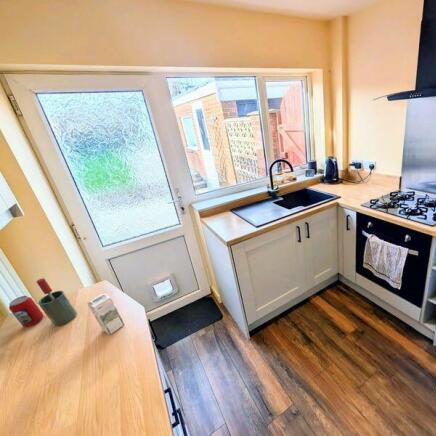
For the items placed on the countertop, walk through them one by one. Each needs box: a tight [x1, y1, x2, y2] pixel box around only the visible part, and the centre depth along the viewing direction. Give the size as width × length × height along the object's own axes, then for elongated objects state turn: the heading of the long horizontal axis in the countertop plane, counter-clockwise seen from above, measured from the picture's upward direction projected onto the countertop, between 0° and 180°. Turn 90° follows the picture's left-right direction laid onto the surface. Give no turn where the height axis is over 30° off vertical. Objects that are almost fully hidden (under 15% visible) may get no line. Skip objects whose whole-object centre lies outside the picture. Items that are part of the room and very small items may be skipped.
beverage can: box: [8, 295, 45, 328], centre depth 102 cm, size 7×7×12 cm
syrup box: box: [87, 293, 125, 336], centre depth 94 cm, size 6×6×14 cm
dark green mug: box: [37, 290, 78, 327], centre depth 101 cm, size 8×8×12 cm
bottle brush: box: [35, 277, 55, 301], centre depth 100 cm, size 4×4×20 cm
